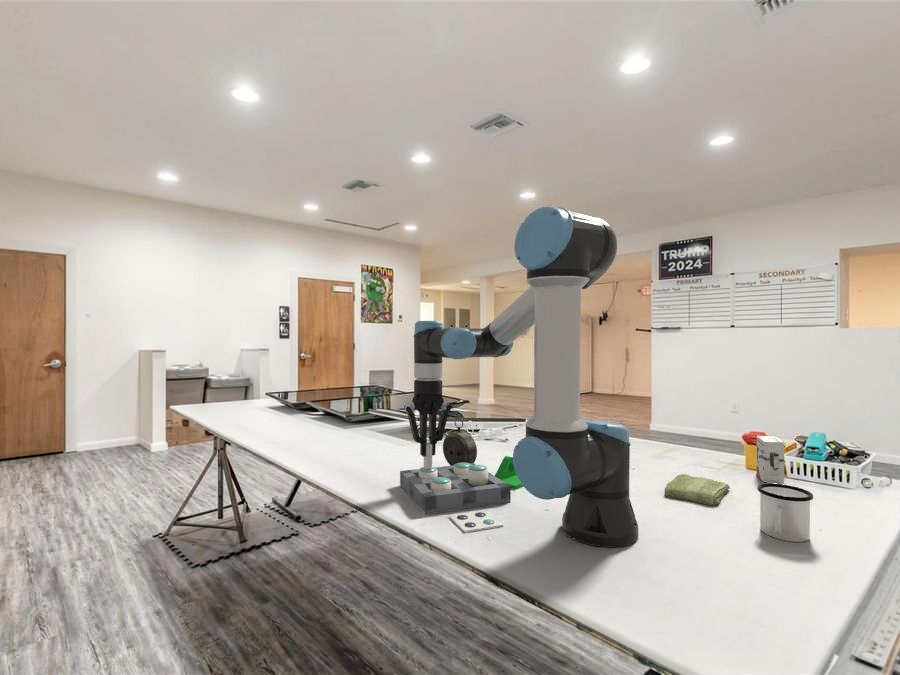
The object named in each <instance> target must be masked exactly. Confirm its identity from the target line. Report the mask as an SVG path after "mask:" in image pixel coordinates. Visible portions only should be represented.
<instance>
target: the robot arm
mask: <svg viewBox="0 0 900 675" xmlns="http://www.w3.org/2000/svg"><path fill="white" fill-rule="evenodd" d="M514 238H515V239H514V248H513V250H514V255H515V257H516V260H517V261H518V262H519V264H520V266H522V267H523V268H525V269H526V283H527V284H529V285H530V286H529V287H528V288H527V289H526V290H525V291H524V292H522V294H520V295H519V296H518V297H517V298H516V299H515V300H514V301H513V302H511V304H510V305H508V307H506V308H505V309H504V310H503V311H502V312H500V313H499V315H498V316H496V317H495V318H494V319H493V320H492V321H491V322H490V323H489V324H487V325H486V326H485V327H483V328H476V327H475V328H469V327H468V328H466V327H447V328H445V327H443V326H444V325H443V322H442V321H440V320H417V321H416V322H415V324H414V331H413V332H414V333H413V360H414V362H413V370H414V371H413V377H414V378H415V379H414V381H413V398H412V400H411V402H410V403H409V404H408V405H405V406H403V410H404V411H405V413H406V414H407V418H408V421H409V427H410V430H411V434H412V439H413V441H415V443H417V444H418V443H419V448H420V450H419V451H420V452H419V453H420V456H421V457H423V467H424V468H425V469H432V467H433V456H436V445H437V443H438V442H440V441H441V442H442V441H443V438H444V433H445V431H446V430H445V429H446V425H447V420H448V417H449V413H450V411H451V410H452V409H453V408H452V405H451V404H450V403H447V402H445V398H444V397H443V380H442V378H443V359H444V358H445V359H452V360H463V359H464V360H465V359H468V358H499V357H505V356H507V355H509V354H510V353H511V351H512V348H513V347H514V341H515V340H518V338H520V337H521V336H522V335H523V334H524V333H526V332H527V331H528V330H529V329H531V327H533V326H534V327H533V328H534V330H533V331H534V336H533V337H534V342H533V343H534V344H533V346H534V350H533V353H534V354H533V357H534V358H533V415H532V416H531V417H530V418H528V419H527V421H526V422H525V437H523V438H521V439H520V440H519V441H518V442H517V444H516V445H515V446H514V449H513V452H512V453H513V454H512V457H513V465H514V469H515V472H516V475H517V477H518V479H519V481H520V482H522V484H523V487H522V488H524V490H526V491H527V492H528V493H529V494H530V495H532V496H534V497H535V498H538V499H541V500H544V501H545V500H546V501H547V500H553V499H563V498H565V497H566V496H568V495H569V496H568V499H567V503H566V506H565V510H564V512H563V514H562V518H561V529H562V531H563V533H564V534H566V536H568V537H569V538H571V539H573V540H575V541H577V542H580V543H583V544H587V545H590V546H596V547H604V548H605V547H606V548H621V547H627V546H630V545H632V544H635V543H636V542H637V541H638V539H639V523H638V520H637V519H636V514H635V511H634V509H633V506H632V505H633V504H632V501H631V499H630V459H631V458H630V456H631V452H630V450H631V448H630V447H631V442H630V432H629V429H628V428H627V426H625V425H623V424H622V423H621V424H620V423H616V422H609V421H604V420H598V419H597V420H595V419H589V418H587V419H585V418H582V417H581V335H582V332H581V321H582V318H581V316H582V308H581V307H582V305H581V304H582V290H583V291H584V290H586V289H588V288H589V287H590V286H592V285H593V284H594V283H596V282H597V281H598V280H600V278H601V277H602V276H604V275H605V273H606V272H607V271H608V270H609V269H610V267H611V266H612V265H613V263H614V261H615V259H616V256H617V252H618V239H617V236H616V233H615V230H613V228H612V227H611V225H609V223H607V222H606V221H605V220H604V219H601V218H600V217H597V216H593V215H588V214H583V213H581V212H580V213H579V212H575V211H572V210H568V209H567V208H565V207H555V206H554V207H553V206H542V207H540V208H536V209H534V210H533V211H532V212H530V213H529V214H528V215H527V216H526V217H525V218H524V220H523V222H521V224H520V225H519V227H518V229H517V231H516V235H515V237H514ZM415 409H416V410H417V412H418V413H419V428H418V424H417V420H416V416H415V413H414V412H415ZM440 409H441V411H440V415H439V419H438V423H437V417H438V412H439V410H440ZM427 438H428V439H427Z"/></svg>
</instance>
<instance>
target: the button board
mask: <svg viewBox="0 0 900 675" xmlns="http://www.w3.org/2000/svg"><path fill="white" fill-rule="evenodd" d="M471 465H477V464H476V463H475V462H474V463H472V464H471ZM434 467H435V468H436V469H437V470H438V477H446V478H449V479H450V480H451V490H443V491H435V492H432V491H431V480H432V479H433V478H430V479H421V480H420V479H419V469H420V468H417V469H406V470H400V471H399V486H400V487H401V489H402V490H404V492H405V493H406V494H407V496H409V497H410V499H411V501H413V503H415V504H416V505H417V507H418V508H419V509H420V510H421V511H422V512H423V514H424V515H430V514H436V513H443V512H450V511H451V512H452V511H458V510H464V509H465V510H466V509H472V508H479V507H486V506H493V505H501V504H508V503H511V501H512V500H511V493H512V491H511V486H510V485H508V484H507V483H505V482H503V481H502V480H500V479H499V478H497V477H495V474H492V473H490V472H489V471H488V485H483V486H475V487H471V486H469V485H468V474H466V475H457V476H456V475H455V474H454V465H452V466H450V465H446V466H443V465H442V466H434Z"/></svg>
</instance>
